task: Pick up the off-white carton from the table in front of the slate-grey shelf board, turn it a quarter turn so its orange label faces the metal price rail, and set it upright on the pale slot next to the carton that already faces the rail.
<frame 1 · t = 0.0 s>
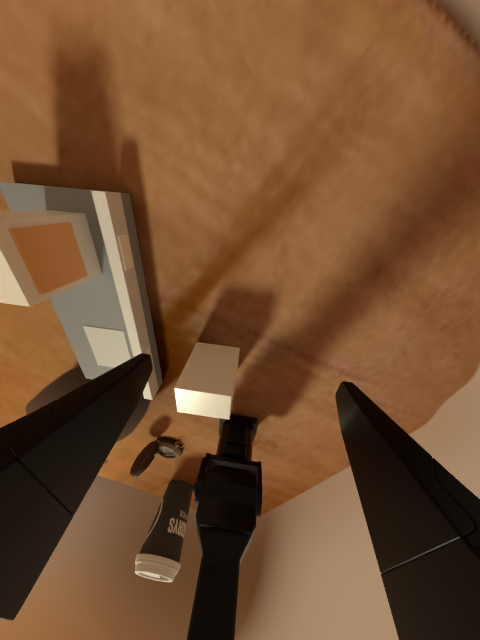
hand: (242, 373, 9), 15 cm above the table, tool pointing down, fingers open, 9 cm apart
compass: (169, 441, 43), on the table
shelf board: (106, 306, 26), on the table
coffee cup: (181, 485, 53), on the table
carton: (217, 366, 30), on the table
faced carton: (94, 246, 21), point 1 cm above the table, touching shelf board
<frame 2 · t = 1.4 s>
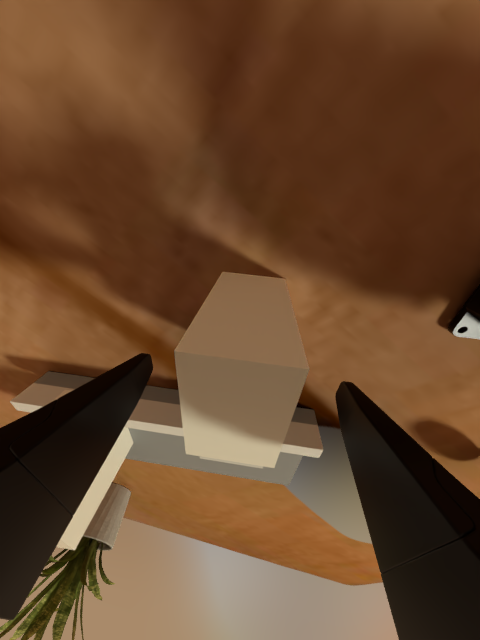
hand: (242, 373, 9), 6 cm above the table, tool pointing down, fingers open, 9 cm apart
shelf board: (181, 426, 22), on the table
carton: (276, 319, 14), on the table
faced carton: (97, 417, 20), point 1 cm above the table, touching shelf board
house plant: (109, 484, 34), on the table
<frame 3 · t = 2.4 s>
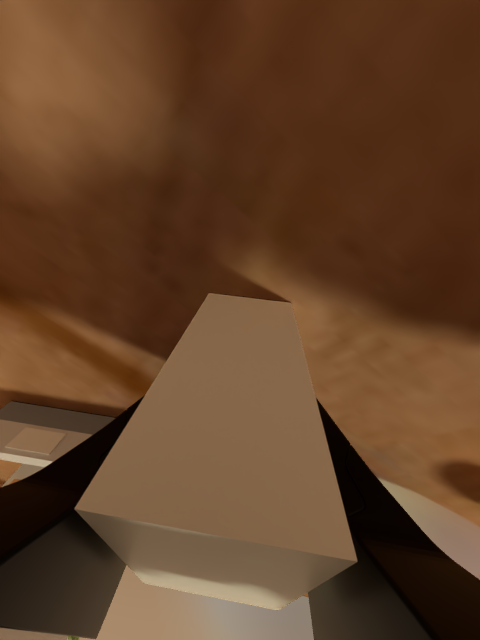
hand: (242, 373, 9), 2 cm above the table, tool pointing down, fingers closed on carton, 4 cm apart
shelf board: (168, 461, 19), on the table
carton: (280, 351, 11), on the table, touching gripper
faced carton: (69, 454, 17), point 1 cm above the table, touching shelf board
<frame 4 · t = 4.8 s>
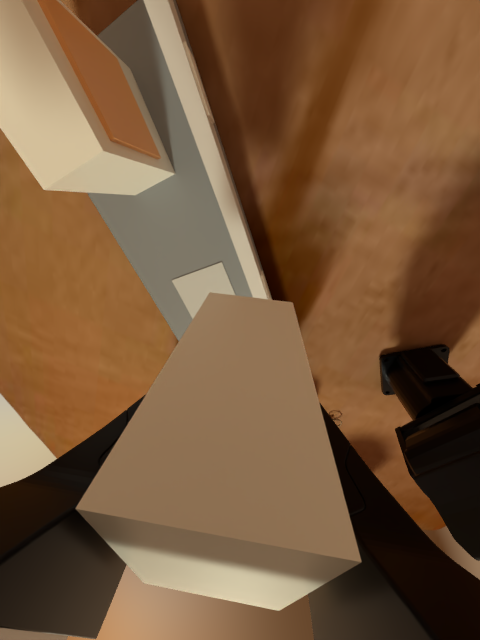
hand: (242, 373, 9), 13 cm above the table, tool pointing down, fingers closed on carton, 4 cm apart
shelf board: (189, 243, 20), on the table
carton: (280, 351, 11), point 11 cm above the table, touching gripper
faced carton: (154, 126, 14), point 1 cm above the table, touching shelf board
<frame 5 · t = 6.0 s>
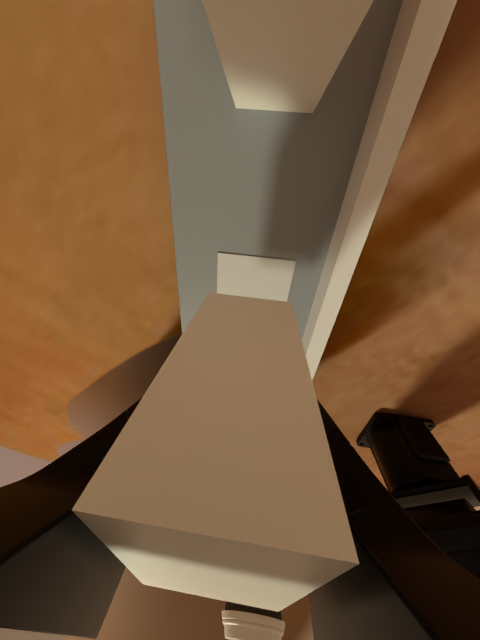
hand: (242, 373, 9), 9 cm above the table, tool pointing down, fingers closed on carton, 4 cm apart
shelf board: (261, 216, 14), on the table
coffee cup: (256, 505, 42), on the table
carton: (280, 351, 11), point 7 cm above the table, touching gripper
faced carton: (330, 18, 9), point 1 cm above the table, touching shelf board
when the fingers open (5 cm above the table, at t = 7.1 s): carton drops 1 cm, resting on shelf board.
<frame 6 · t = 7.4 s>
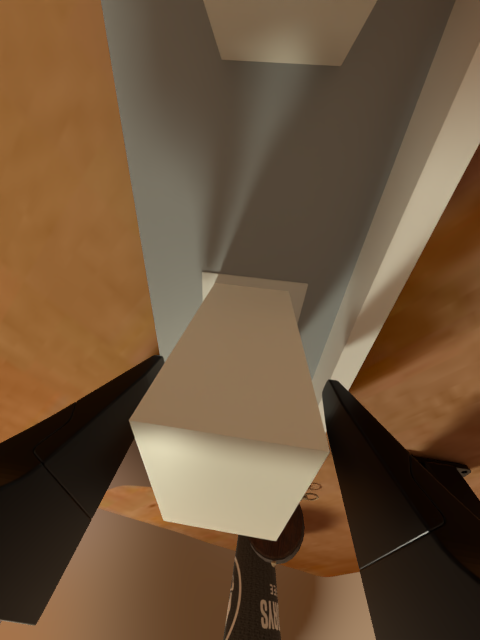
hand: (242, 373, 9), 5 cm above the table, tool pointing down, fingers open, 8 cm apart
compass: (283, 482, 26), on the table
shelf board: (261, 222, 11), on the table
coffee cup: (255, 536, 38), on the table
carton: (278, 336, 12), point 2 cm above the table, touching shelf board
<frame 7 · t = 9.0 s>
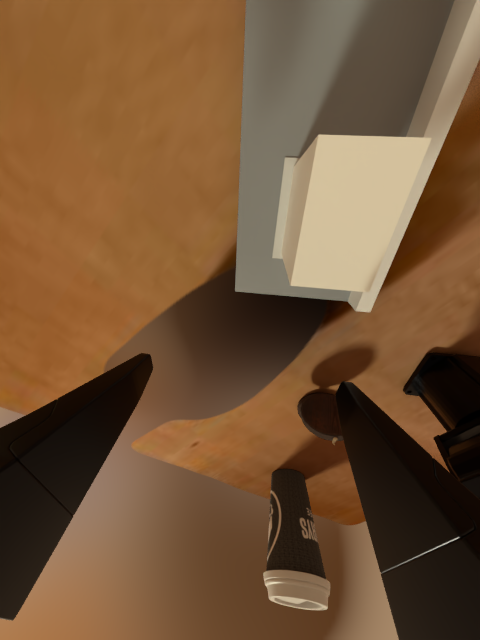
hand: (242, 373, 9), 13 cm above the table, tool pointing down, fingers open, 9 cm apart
compass: (325, 401, 29), on the table
shelf board: (329, 117, 14), on the table
coffee cup: (287, 475, 41), on the table
carton: (338, 217, 16), point 2 cm above the table, touching shelf board
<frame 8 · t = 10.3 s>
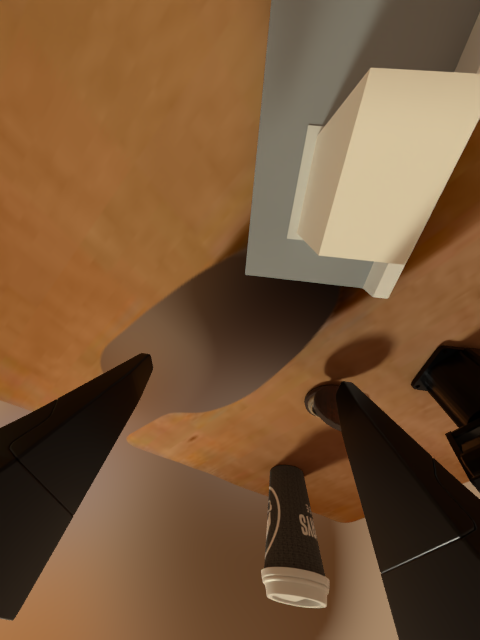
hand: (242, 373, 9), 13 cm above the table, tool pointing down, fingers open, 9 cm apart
compass: (334, 394, 28), on the table
shelf board: (356, 84, 13), on the table
coffee cup: (286, 472, 40), on the table
carton: (360, 194, 15), point 2 cm above the table, touching shelf board
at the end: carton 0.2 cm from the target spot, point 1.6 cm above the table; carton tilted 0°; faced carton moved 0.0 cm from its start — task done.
